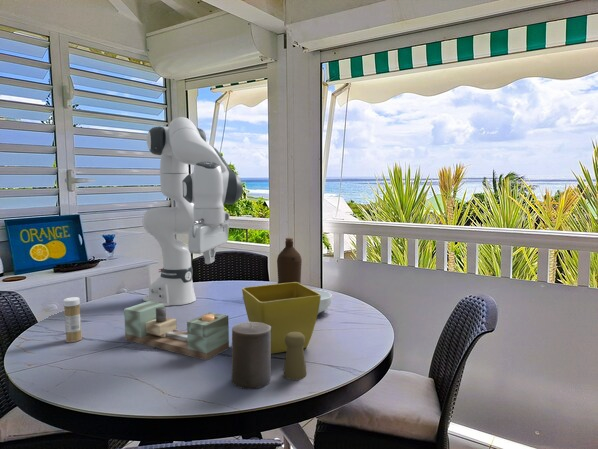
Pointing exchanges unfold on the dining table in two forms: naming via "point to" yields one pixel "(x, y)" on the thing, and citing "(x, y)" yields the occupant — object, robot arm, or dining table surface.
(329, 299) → the cereal bowl
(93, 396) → the dining table surface
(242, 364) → the pillar candle
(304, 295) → the flower pot
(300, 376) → the game pawn
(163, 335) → the carriage
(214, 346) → the rail bed
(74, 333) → the sprinkles bottle
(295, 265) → the olive oil
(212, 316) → the plunger
